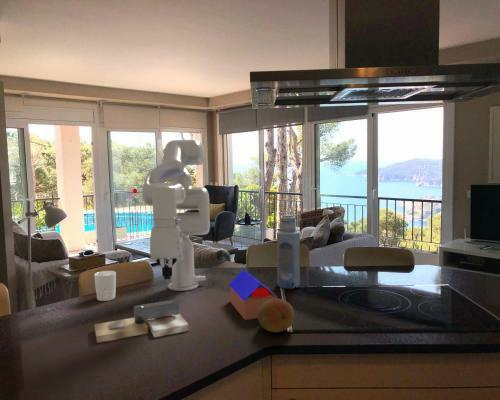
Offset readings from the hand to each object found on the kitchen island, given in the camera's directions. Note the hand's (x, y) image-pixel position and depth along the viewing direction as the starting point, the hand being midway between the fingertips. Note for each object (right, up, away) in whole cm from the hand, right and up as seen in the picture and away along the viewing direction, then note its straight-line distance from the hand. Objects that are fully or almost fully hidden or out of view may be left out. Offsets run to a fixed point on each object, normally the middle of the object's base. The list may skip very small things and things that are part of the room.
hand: (167, 278), depth 129 cm
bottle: (+44, -11, +37) cm, 58 cm away
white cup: (-29, -13, +24) cm, 40 cm away
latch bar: (-3, -12, -4) cm, 13 cm away
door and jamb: (-7, -15, -6) cm, 17 cm away
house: (+28, -13, +10) cm, 33 cm away
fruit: (+35, -14, -9) cm, 39 cm away
